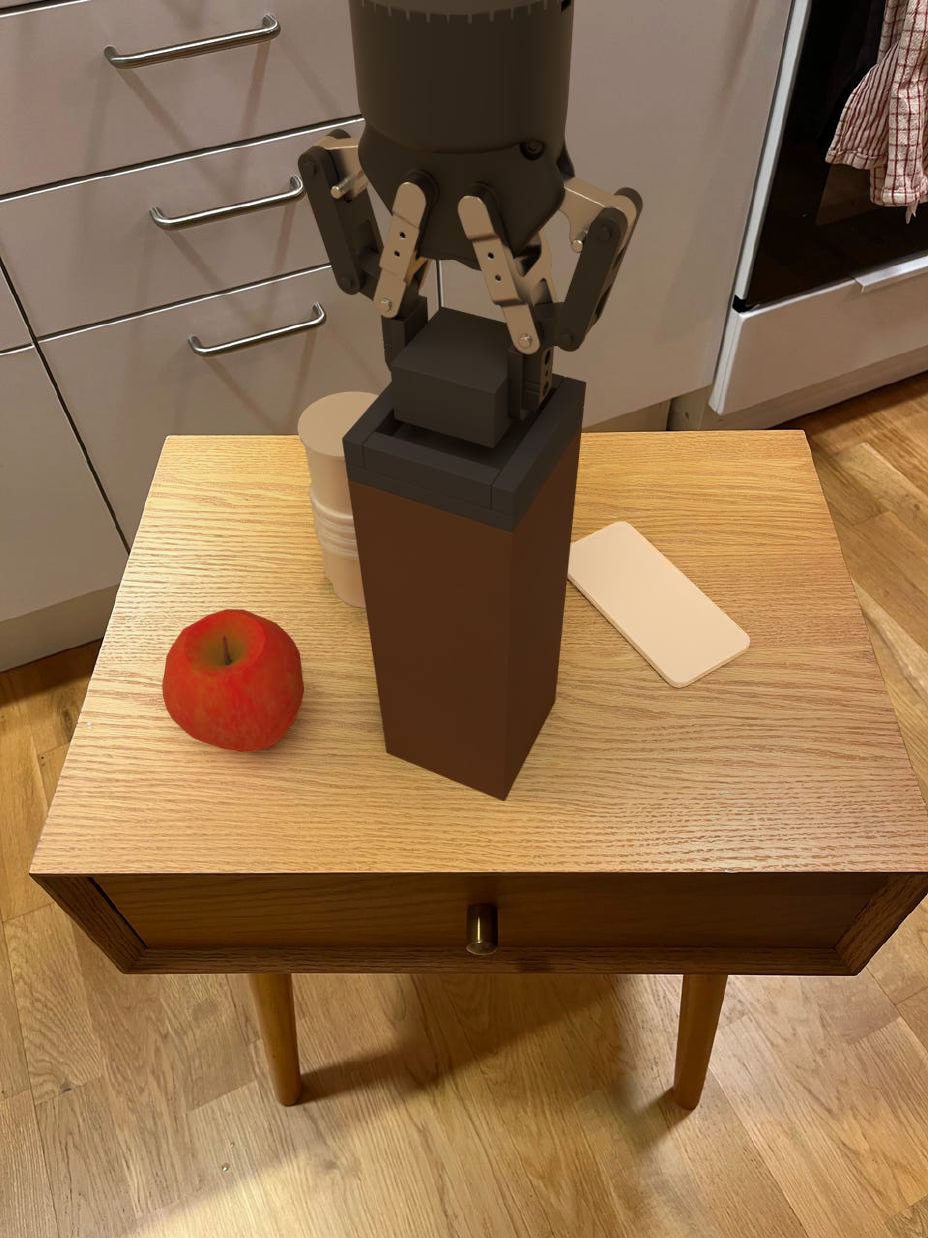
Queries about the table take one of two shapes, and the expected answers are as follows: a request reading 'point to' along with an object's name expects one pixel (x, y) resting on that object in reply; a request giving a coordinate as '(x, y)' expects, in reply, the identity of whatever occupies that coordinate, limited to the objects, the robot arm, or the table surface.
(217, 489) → the table surface
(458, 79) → the robot arm
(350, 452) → the brown square canister
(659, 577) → the smartphone
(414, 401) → the dark brown square block
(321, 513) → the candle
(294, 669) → the apple
